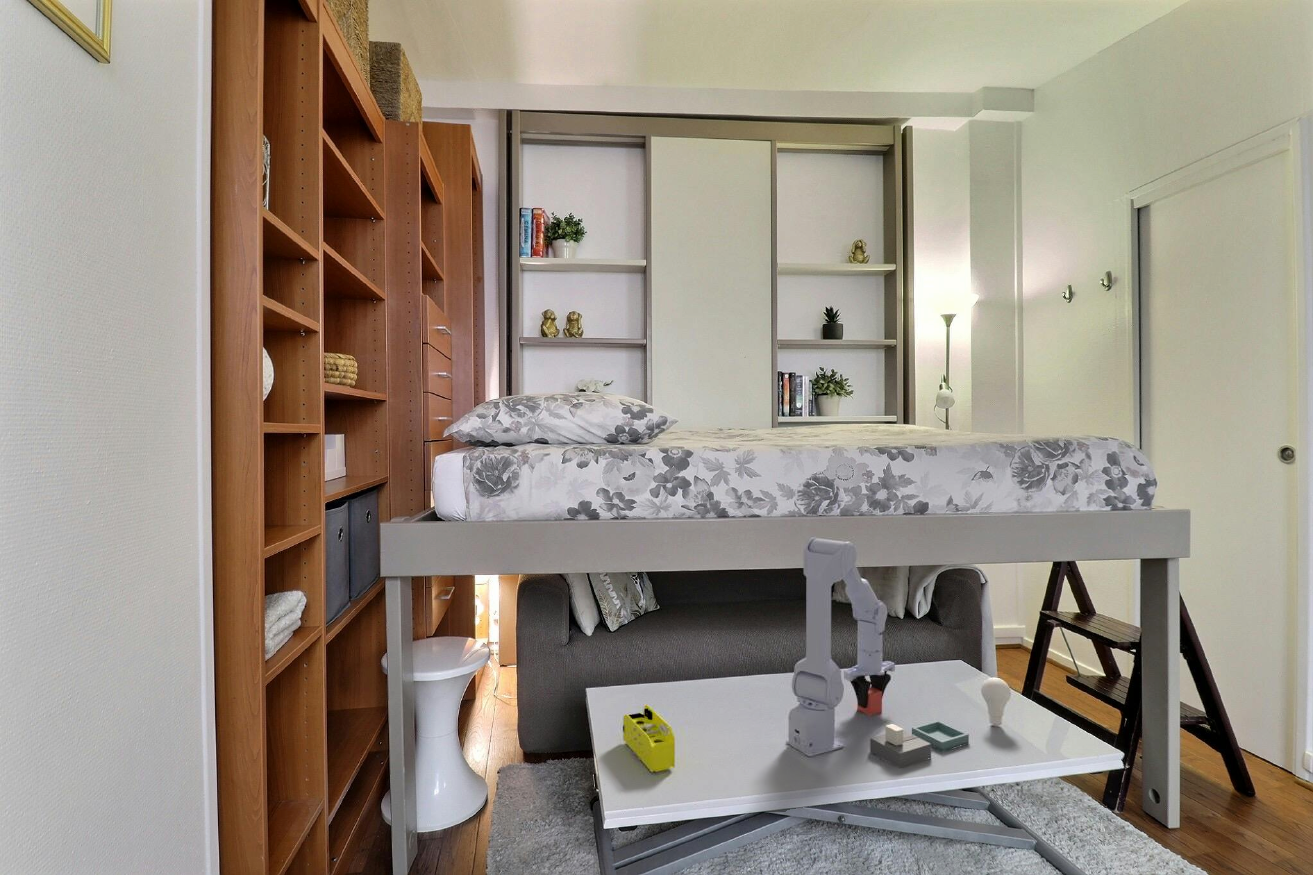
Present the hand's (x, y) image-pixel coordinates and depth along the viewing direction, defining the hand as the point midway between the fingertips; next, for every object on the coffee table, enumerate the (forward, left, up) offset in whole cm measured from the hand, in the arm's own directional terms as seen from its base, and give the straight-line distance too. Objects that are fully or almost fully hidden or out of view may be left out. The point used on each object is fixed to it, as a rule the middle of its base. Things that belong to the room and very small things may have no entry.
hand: (869, 704), depth 173 cm
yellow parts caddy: (-58, +5, -2) cm, 58 cm away
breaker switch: (-13, -20, +2) cm, 24 cm away
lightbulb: (+19, -20, -2) cm, 28 cm away
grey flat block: (-11, -20, -1) cm, 23 cm away
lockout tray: (+2, -19, -1) cm, 19 cm away
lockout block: (0, 0, -1) cm, 1 cm away
